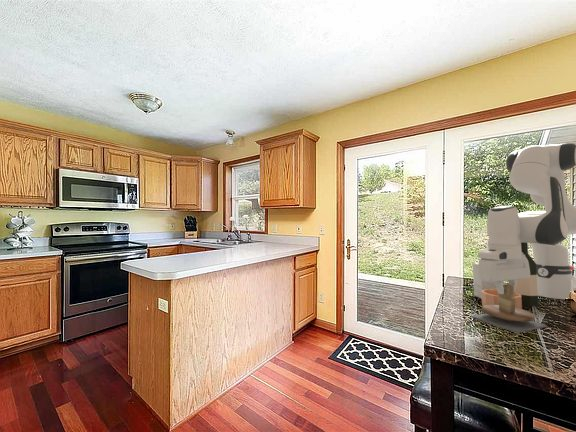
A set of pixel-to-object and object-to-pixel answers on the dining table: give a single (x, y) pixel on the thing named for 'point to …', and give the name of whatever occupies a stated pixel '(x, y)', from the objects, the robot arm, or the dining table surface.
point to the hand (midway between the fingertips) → (506, 293)
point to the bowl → (493, 299)
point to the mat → (510, 323)
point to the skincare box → (480, 282)
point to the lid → (508, 307)
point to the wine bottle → (528, 282)
